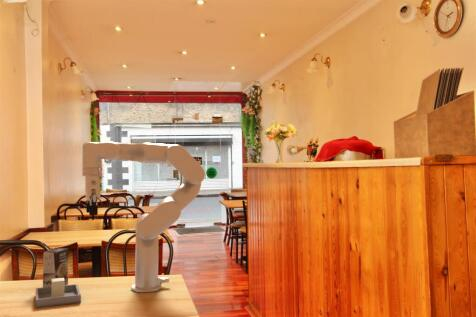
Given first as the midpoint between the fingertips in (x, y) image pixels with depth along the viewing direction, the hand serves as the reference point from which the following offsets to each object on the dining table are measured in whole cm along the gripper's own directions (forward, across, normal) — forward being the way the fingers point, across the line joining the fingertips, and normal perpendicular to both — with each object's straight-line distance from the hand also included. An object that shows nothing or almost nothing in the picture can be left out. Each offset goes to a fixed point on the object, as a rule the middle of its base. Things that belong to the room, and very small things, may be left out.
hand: (91, 213), depth 183 cm
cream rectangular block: (+31, -5, +13) cm, 34 cm away
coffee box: (+32, +11, +13) cm, 37 cm away
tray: (+32, -5, +13) cm, 35 cm away
